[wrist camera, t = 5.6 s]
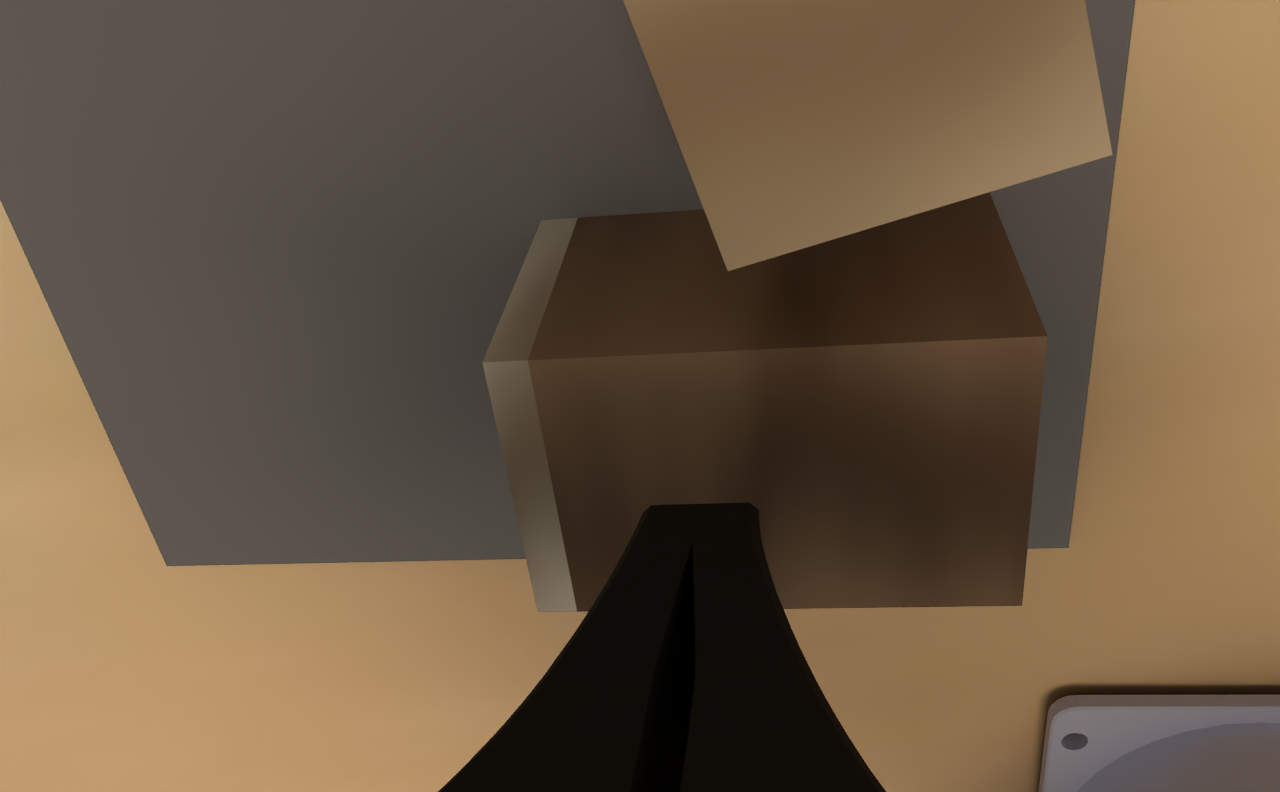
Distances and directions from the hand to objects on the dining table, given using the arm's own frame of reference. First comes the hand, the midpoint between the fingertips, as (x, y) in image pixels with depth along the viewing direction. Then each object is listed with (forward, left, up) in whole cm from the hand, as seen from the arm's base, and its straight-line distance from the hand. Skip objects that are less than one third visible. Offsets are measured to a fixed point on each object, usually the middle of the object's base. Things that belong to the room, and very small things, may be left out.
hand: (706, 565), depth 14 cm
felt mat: (+2, +3, -6) cm, 7 cm away
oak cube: (+6, -2, -6) cm, 9 cm away
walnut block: (0, +3, -4) cm, 5 cm away
